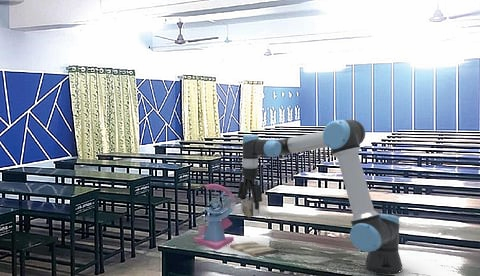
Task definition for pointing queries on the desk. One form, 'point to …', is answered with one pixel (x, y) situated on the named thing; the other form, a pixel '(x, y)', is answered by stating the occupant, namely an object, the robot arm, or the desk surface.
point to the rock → (249, 208)
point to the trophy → (216, 221)
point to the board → (254, 249)
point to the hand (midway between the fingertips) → (249, 214)
